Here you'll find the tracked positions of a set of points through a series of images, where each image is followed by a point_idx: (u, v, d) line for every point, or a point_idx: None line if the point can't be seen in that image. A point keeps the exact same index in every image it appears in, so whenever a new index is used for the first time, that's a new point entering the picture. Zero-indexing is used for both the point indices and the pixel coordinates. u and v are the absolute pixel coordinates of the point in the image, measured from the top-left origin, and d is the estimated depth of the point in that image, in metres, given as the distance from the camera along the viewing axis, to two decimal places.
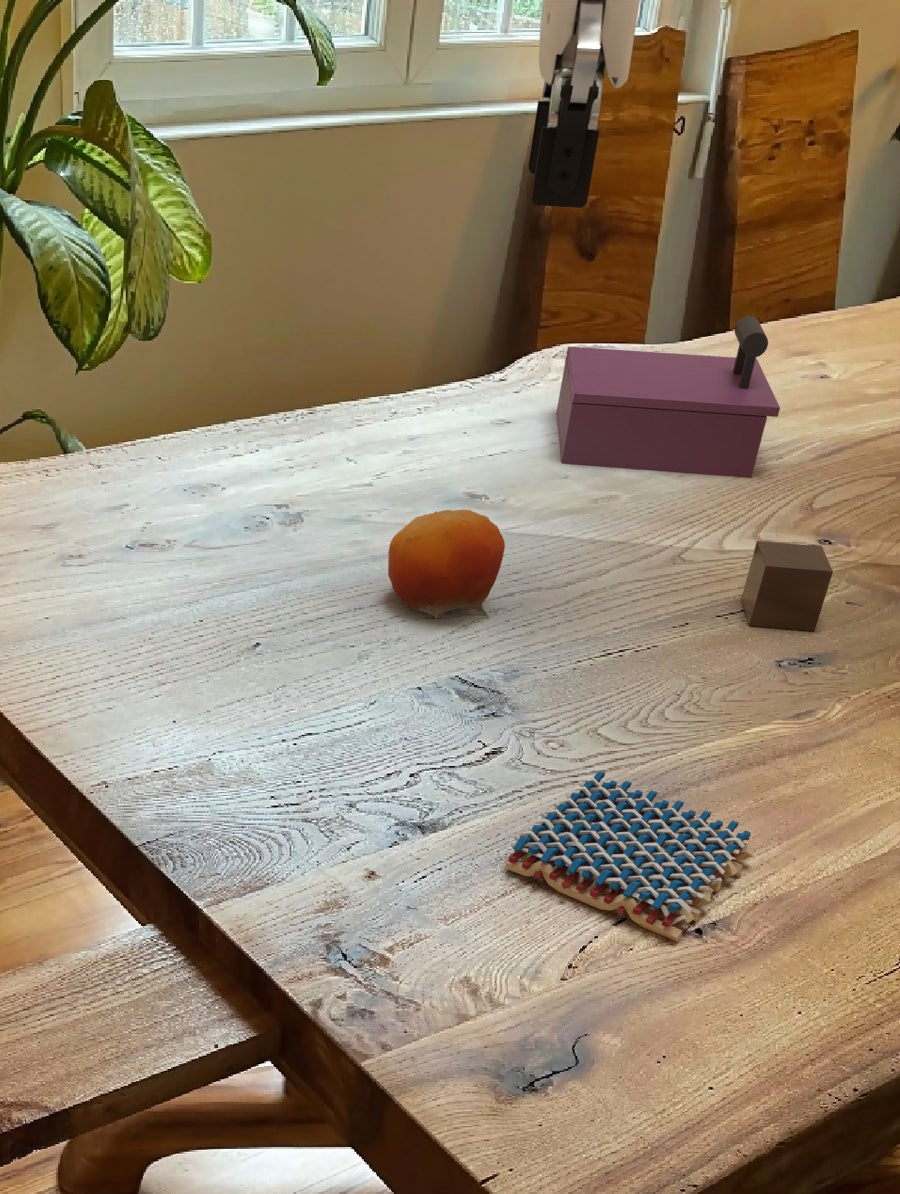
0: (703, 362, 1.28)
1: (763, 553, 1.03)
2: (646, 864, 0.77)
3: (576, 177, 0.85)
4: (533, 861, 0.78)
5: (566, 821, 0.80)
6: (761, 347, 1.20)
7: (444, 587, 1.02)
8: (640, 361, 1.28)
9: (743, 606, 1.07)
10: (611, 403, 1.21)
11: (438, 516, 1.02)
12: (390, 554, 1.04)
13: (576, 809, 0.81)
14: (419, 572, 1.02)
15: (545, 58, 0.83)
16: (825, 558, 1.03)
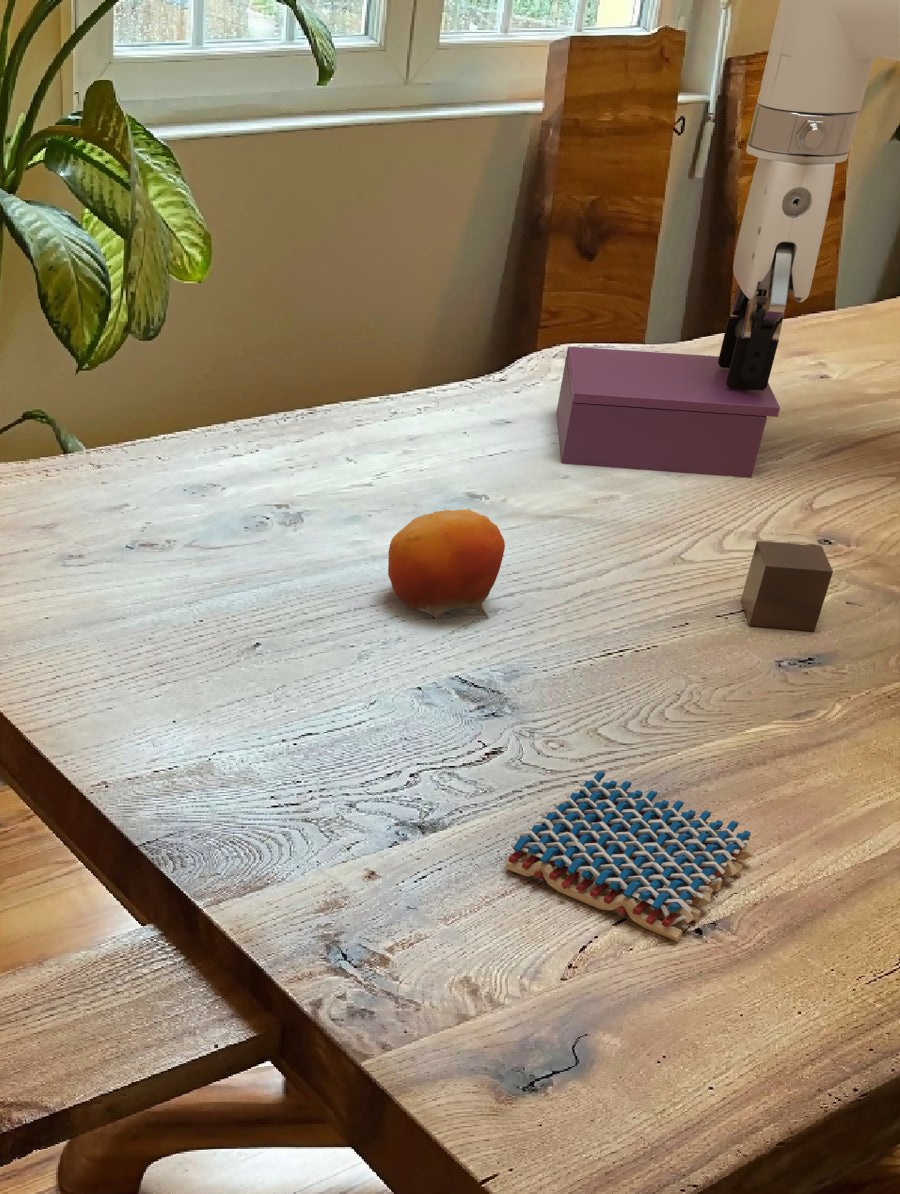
0: (703, 362, 1.28)
1: (763, 553, 1.03)
2: (646, 864, 0.77)
3: (761, 371, 1.20)
4: (533, 861, 0.78)
5: (566, 821, 0.80)
6: None
7: (444, 587, 1.02)
8: (640, 361, 1.28)
9: (743, 606, 1.07)
10: (611, 403, 1.21)
11: (438, 516, 1.02)
12: (390, 554, 1.04)
13: (576, 809, 0.81)
14: (419, 572, 1.02)
15: (749, 283, 1.16)
16: (825, 558, 1.03)
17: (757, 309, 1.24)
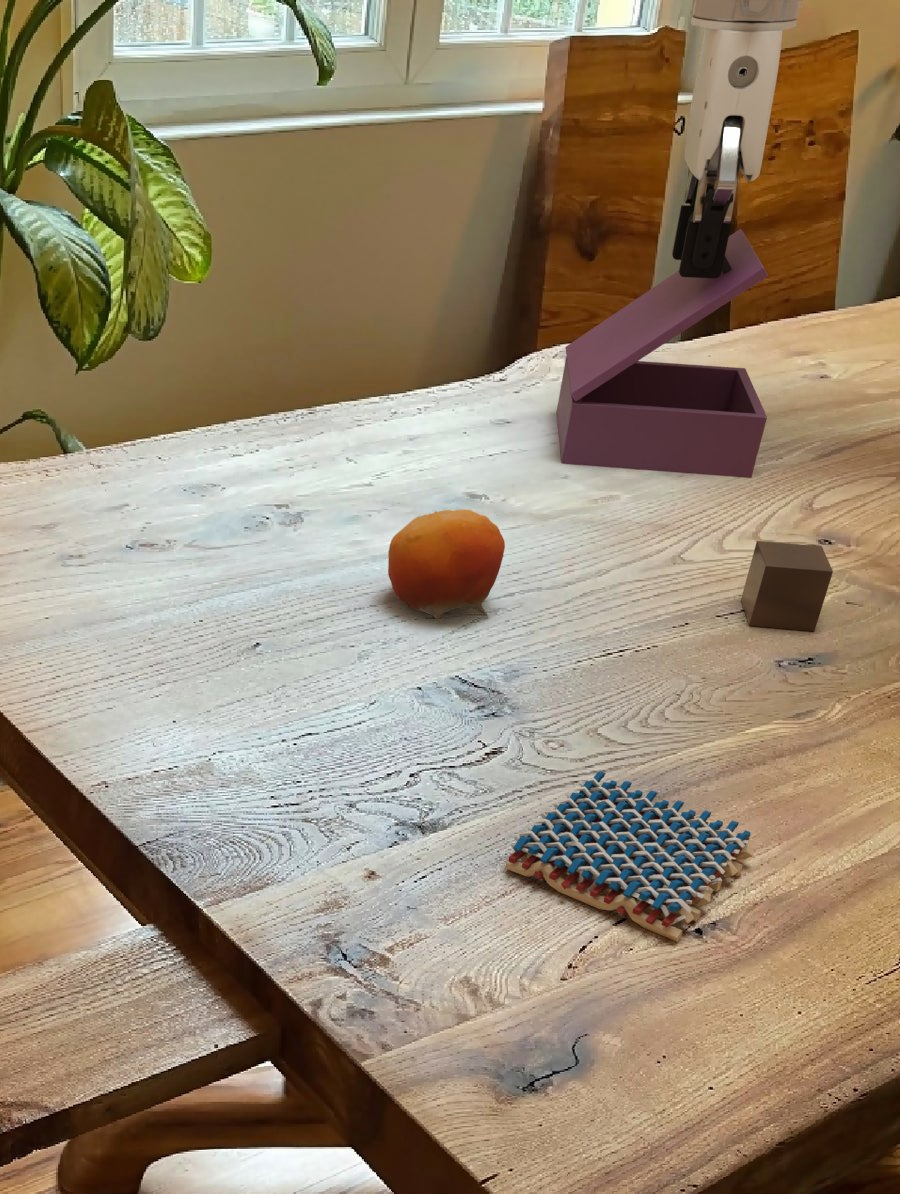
0: None
1: (763, 553, 1.03)
2: (646, 864, 0.77)
3: (714, 257, 1.16)
4: (533, 861, 0.78)
5: (566, 821, 0.80)
6: None
7: (444, 587, 1.02)
8: (630, 314, 1.26)
9: (743, 606, 1.07)
10: (609, 377, 1.20)
11: (438, 516, 1.02)
12: (390, 554, 1.04)
13: (576, 809, 0.81)
14: (419, 572, 1.02)
15: (697, 162, 1.11)
16: (825, 558, 1.03)
17: None
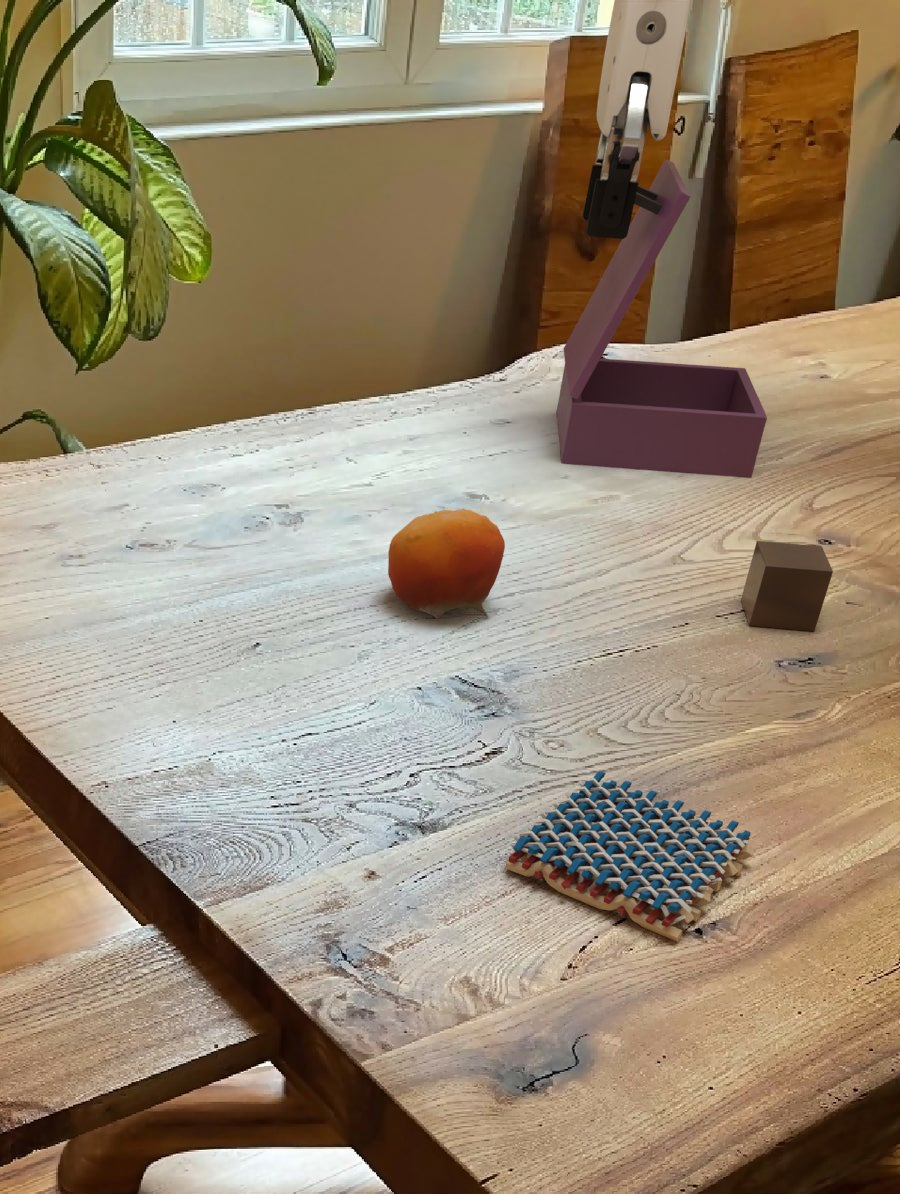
0: (635, 224, 1.23)
1: (763, 553, 1.03)
2: (646, 864, 0.77)
3: (620, 217, 1.15)
4: (533, 861, 0.78)
5: (566, 821, 0.80)
6: None
7: (444, 587, 1.02)
8: (601, 291, 1.25)
9: (743, 606, 1.07)
10: (595, 362, 1.19)
11: (438, 516, 1.02)
12: (390, 554, 1.04)
13: (576, 809, 0.81)
14: (419, 572, 1.02)
15: (605, 118, 1.11)
16: (825, 558, 1.03)
17: None
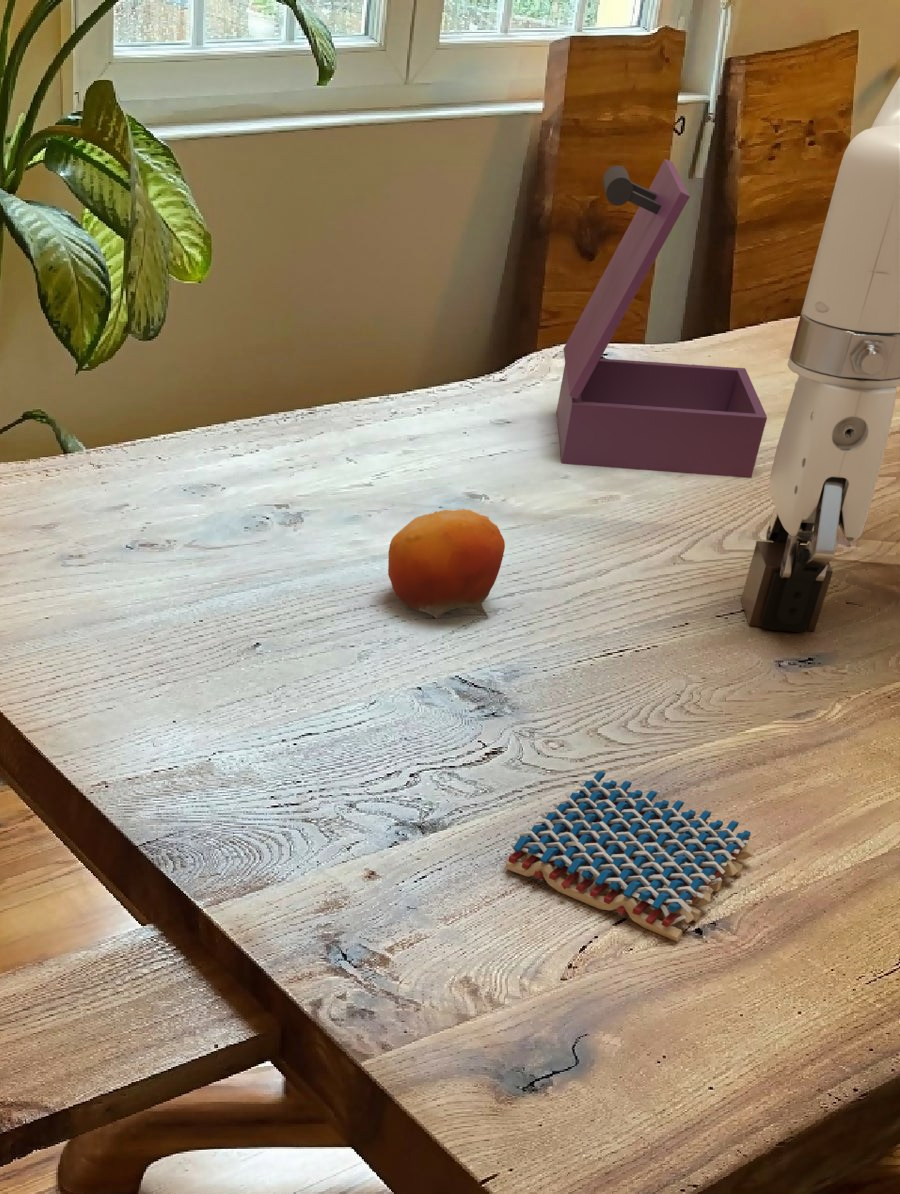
0: (635, 224, 1.23)
1: (763, 553, 1.03)
2: (646, 864, 0.77)
3: (802, 613, 1.02)
4: (533, 861, 0.78)
5: (566, 821, 0.80)
6: (624, 185, 1.15)
7: (444, 587, 1.02)
8: (601, 291, 1.25)
9: (743, 606, 1.07)
10: (595, 362, 1.19)
11: (438, 516, 1.02)
12: (390, 554, 1.04)
13: (576, 809, 0.81)
14: (419, 572, 1.02)
15: (791, 520, 0.97)
16: None
17: None
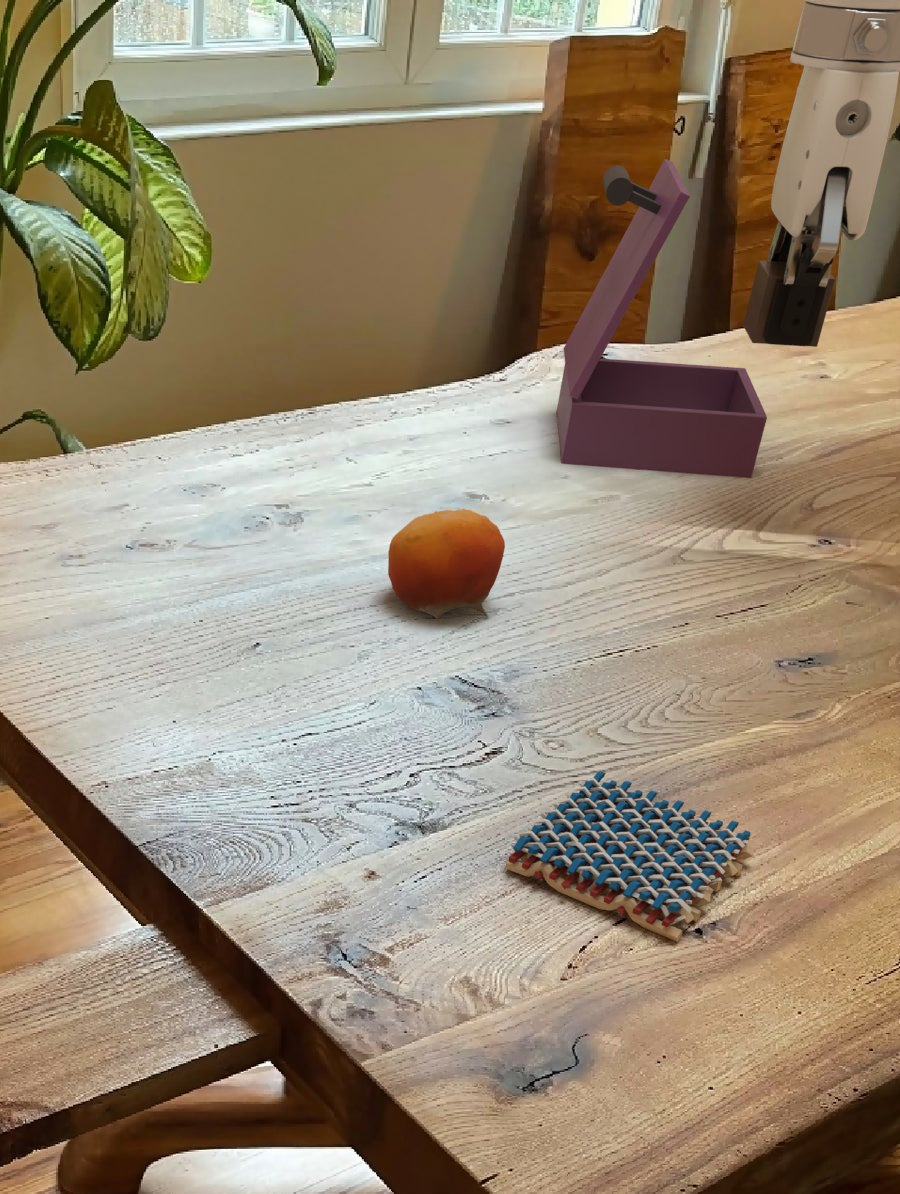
0: (635, 224, 1.23)
1: (765, 268, 1.04)
2: (646, 864, 0.77)
3: (806, 323, 1.03)
4: (533, 861, 0.78)
5: (566, 821, 0.80)
6: (624, 185, 1.15)
7: (444, 587, 1.02)
8: (601, 291, 1.25)
9: (746, 330, 1.08)
10: (595, 362, 1.19)
11: (438, 516, 1.02)
12: (390, 554, 1.04)
13: (576, 809, 0.81)
14: (419, 572, 1.02)
15: (794, 217, 0.98)
16: None
17: (799, 254, 1.06)
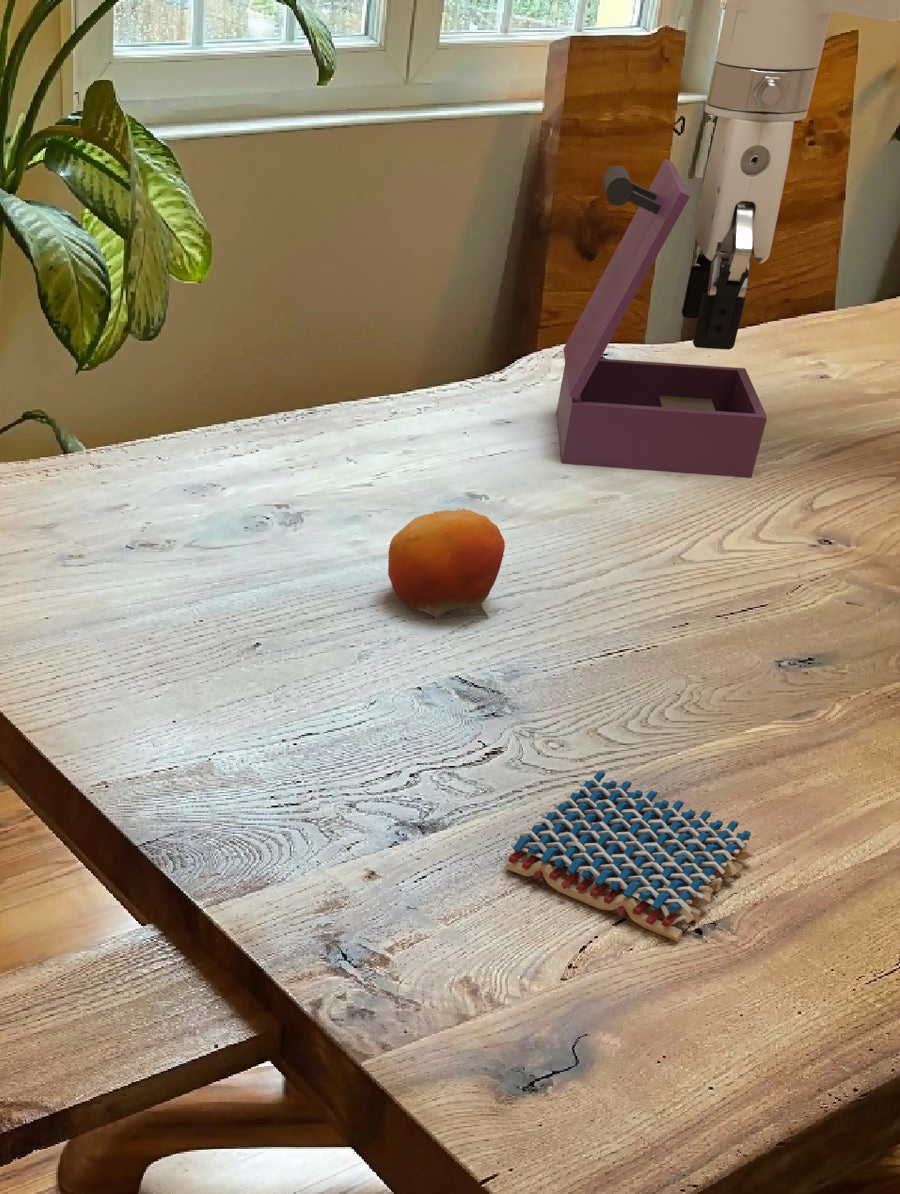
0: (635, 224, 1.23)
1: (662, 403, 1.27)
2: (646, 864, 0.77)
3: (728, 329, 1.17)
4: (533, 861, 0.78)
5: (566, 821, 0.80)
6: (624, 185, 1.15)
7: (444, 587, 1.02)
8: (601, 291, 1.25)
9: None
10: (595, 362, 1.19)
11: (438, 516, 1.02)
12: (390, 554, 1.04)
13: (576, 809, 0.81)
14: (419, 572, 1.02)
15: (709, 244, 1.15)
16: (712, 407, 1.26)
17: None
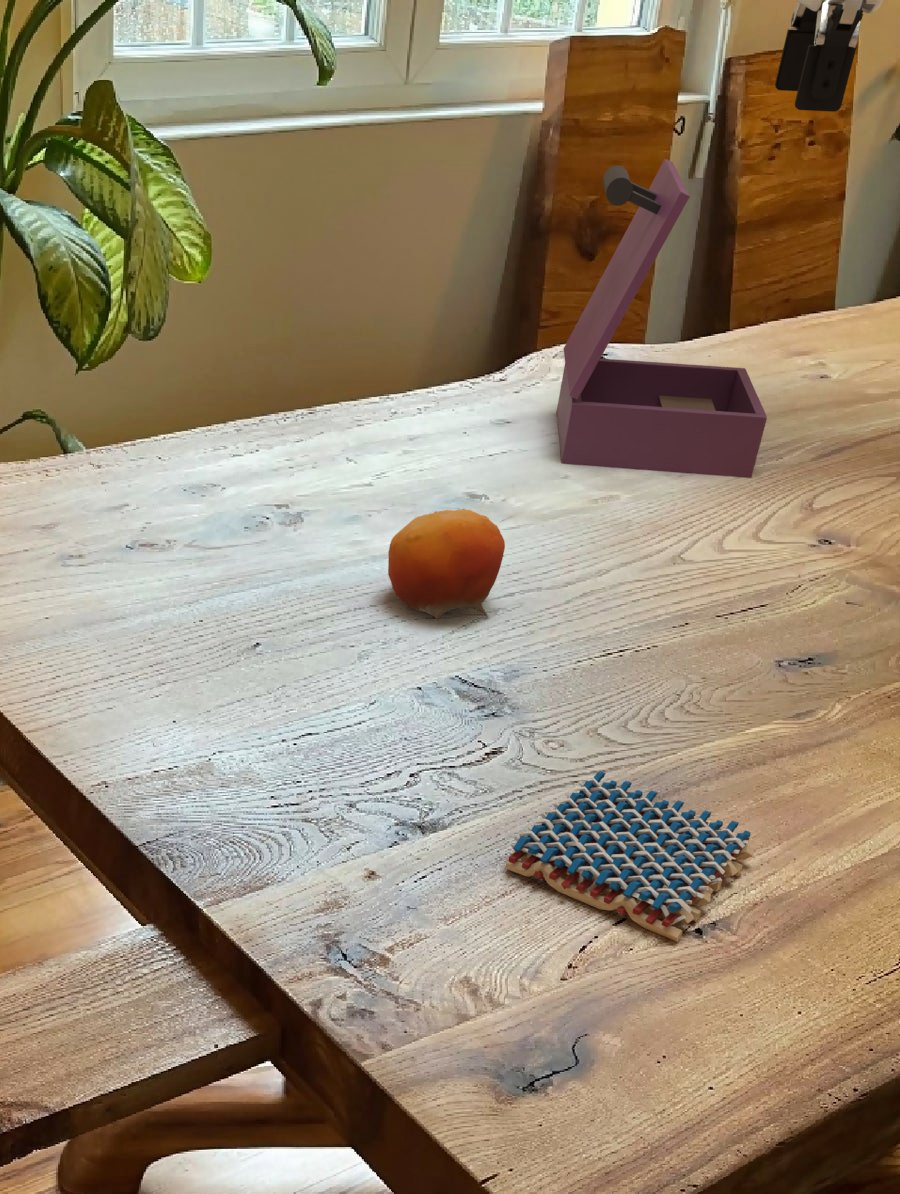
0: (635, 224, 1.23)
1: (662, 403, 1.27)
2: (646, 864, 0.77)
3: (835, 86, 1.06)
4: (533, 861, 0.78)
5: (566, 821, 0.80)
6: (624, 185, 1.15)
7: (444, 587, 1.02)
8: (601, 291, 1.25)
9: None
10: (595, 362, 1.19)
11: (438, 516, 1.02)
12: (390, 554, 1.04)
13: (576, 809, 0.81)
14: (419, 572, 1.02)
15: None
16: (712, 407, 1.26)
17: None
